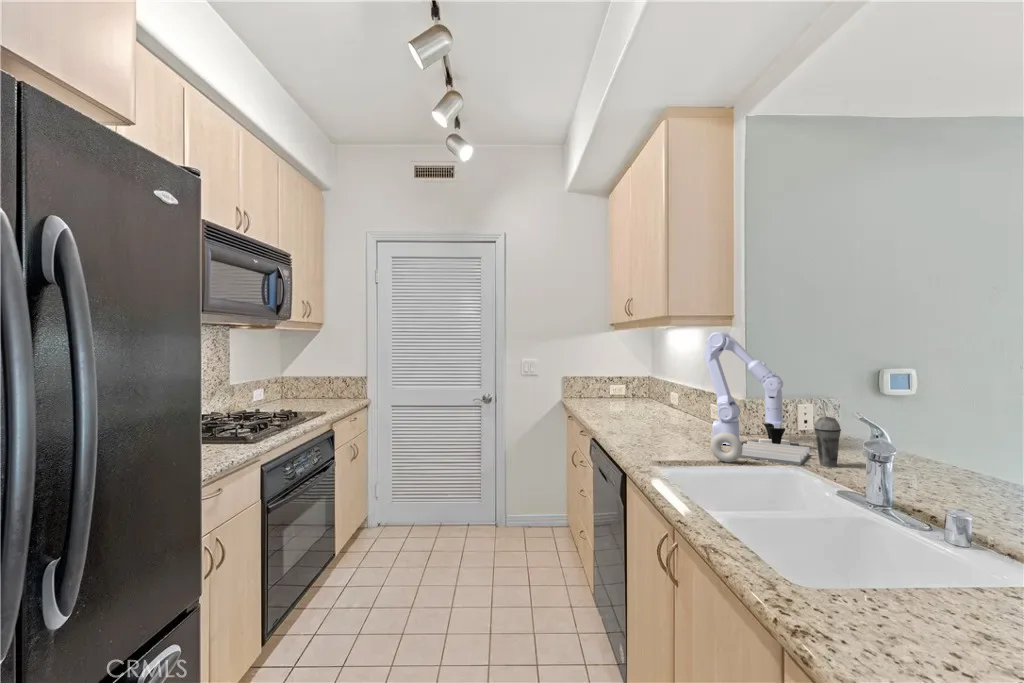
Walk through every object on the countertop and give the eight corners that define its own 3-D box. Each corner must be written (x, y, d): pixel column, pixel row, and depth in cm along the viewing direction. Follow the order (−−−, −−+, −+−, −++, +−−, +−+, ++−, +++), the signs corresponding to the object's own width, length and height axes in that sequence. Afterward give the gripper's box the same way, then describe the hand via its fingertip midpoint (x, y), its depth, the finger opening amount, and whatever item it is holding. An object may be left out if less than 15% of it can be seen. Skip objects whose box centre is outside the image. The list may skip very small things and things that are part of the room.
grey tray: (734, 457, 170) (734, 449, 170) (747, 448, 183) (747, 440, 183) (800, 465, 157) (800, 456, 157) (809, 455, 170) (809, 447, 170)
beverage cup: (846, 468, 152) (844, 404, 152) (820, 467, 153) (819, 404, 154) (835, 463, 159) (834, 401, 159) (811, 462, 160) (809, 401, 161)
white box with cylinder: (760, 449, 182) (759, 440, 182) (758, 447, 185) (758, 438, 185) (799, 451, 178) (799, 441, 178) (797, 449, 181) (797, 440, 181)
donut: (743, 463, 161) (743, 432, 161) (741, 465, 158) (741, 434, 158) (712, 459, 167) (711, 430, 167) (709, 461, 164) (708, 431, 164)
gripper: (789, 411, 174) (790, 449, 174) (782, 406, 188) (783, 441, 188) (767, 410, 176) (768, 448, 176) (761, 405, 190) (762, 440, 190)
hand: (774, 444), depth 182 cm, fingers open, 7 cm apart
